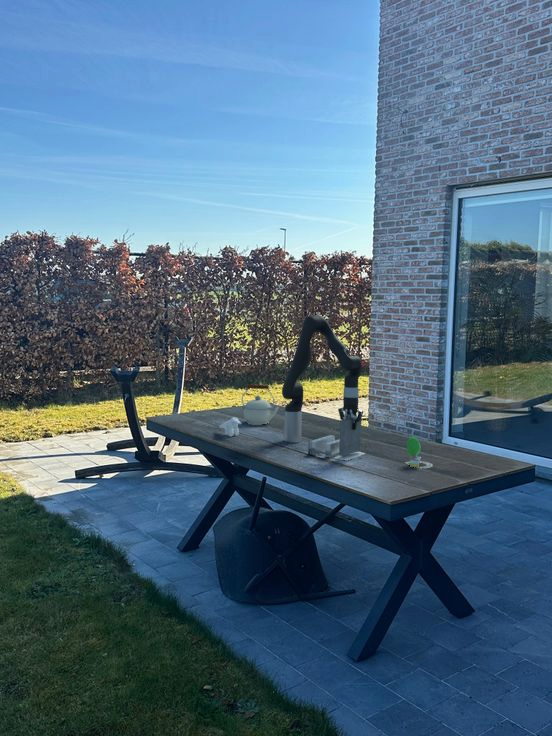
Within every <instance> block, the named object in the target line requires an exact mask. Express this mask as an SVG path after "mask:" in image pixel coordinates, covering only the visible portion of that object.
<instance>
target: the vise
mask: <svg viewBox="0 0 552 736" xmlns="http://www.w3.org/2000/svg"><path fill="white" fill-rule="evenodd" d="M335 438H336V437H335V435H332V434H330V435H326V436H322V437H319V438H316V439H313V440H310V442H308V445H307V449H308V450H307V451H308V452H307V454H308V455H312V454H314V455H313V456H317V455H316V454H318V455H320V454H319V453H321V454H323V455H324V456H325V458H327V457H329V458H328V459H331V457H332V458H334V456H335V457H337V456H339V444H340V438H339V439H335Z"/></svg>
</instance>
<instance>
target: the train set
mask: <svg viewBox="0 0 552 736" xmlns="http://www.w3.org/2000/svg"><path fill="white" fill-rule="evenodd" d="M419 441H420V440H419V439H418V438H416V437H415V436H411V437H409V438H408V440H407V441H406V452H407V454H409V460H408V461H406V462H405V463H406V464H408V465H410V467H414V468H413V469H418V468H419V469H422V468H423V469H430V468H432V467H433V463H430V462H427V461H421V459H422V456H418V455H419V454H420V453H421V450H422V449H421V448H422V446H421V443H420V442H419ZM421 464H424V465H425V466H421ZM410 467H409V468H410ZM415 467H416V468H415Z"/></svg>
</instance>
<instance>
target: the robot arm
mask: <svg viewBox="0 0 552 736" xmlns="http://www.w3.org/2000/svg"><path fill="white" fill-rule="evenodd" d="M301 327H302V328H301V331H300V332H301V333H300V337H299V340H298V343H297V347H296V350H295V353H294V356H293V358H292V363H291V366H290V368H289V370H288V371H289V372H288V374H287V376H286V379H285V381H284V383H283V384H282V385H283V386H282V388H281V395H282V398H283V399H285V400H290V402H289V403H287V404H286V405H284V406H285V407H284V423H283V428H282V429H283V435H282V436H283V437H282V438H283V441H285V443H291V444H292V443H293V444H294V443H295V444H296V443H300V442H301V441H302V409H303V403H304V402H303V401H304V387H303V384H302V383H301V382H299V381H298V379H299V378H300V377H301V376H302V375H303V374H304V372H306V371H307V369H308V368H309V366H310V364H311V361H312V357H313V350H312V346H311V341H312V338H313V335H314V334H318V333H320V334H321V335H322V336H323V337H324V338H325V339H326V343H327V347H328V349H329V350H330V351H331V353H332V354H333V355H334V356H335V358H337V361H338V363H339V364H340V367H341V368H342V369H343V370H345V371H349V373H348V374H346V375H345V376H344V379H343V381H344V383H343V385H344V386H343V401H342V402H343V407H339V408H338V410H337V411H338V413H339V418H340V420H343V419H347V414H349V415H351V418H352V420H353V430H356V428H357V422H360V421H361V422H362V417H363V415H364V411H363V410H361V409H360V408H359V397H360V396H359V394H360V391H359V378H360V374H361V370H362V365H363V364H362V359H361V358H360V357H359V356H357V355H354V356H353V355H351V356H350V355H349V353H350V352H349V349H348V347H346V345H345V344H344V343H343V342H342V341H341V340H340V338H338V336H337V335H336V333H335V332H334V330H333V329H332V328H331V326H330V324H329V323H328V321H327V320H326V319H325V317H323V316H322V315H321V314H320V315H319V314H315V315H307V316H306V317H305V319H304V320H303V323H302V326H301Z"/></svg>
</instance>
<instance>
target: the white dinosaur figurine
mask: <svg viewBox="0 0 552 736" xmlns="http://www.w3.org/2000/svg"><path fill="white" fill-rule="evenodd" d="M239 425H242V422H241V421H240V420H239V419H238V417H236V416H235V417H231V418H230V419H229V420H227V421H225V422H223V423H222V424H220V426H218V428H220V429H224V435H225V436H228V437H229V438H231V437H233V436H235V437H237V436H239V431H240V430H239Z"/></svg>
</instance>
